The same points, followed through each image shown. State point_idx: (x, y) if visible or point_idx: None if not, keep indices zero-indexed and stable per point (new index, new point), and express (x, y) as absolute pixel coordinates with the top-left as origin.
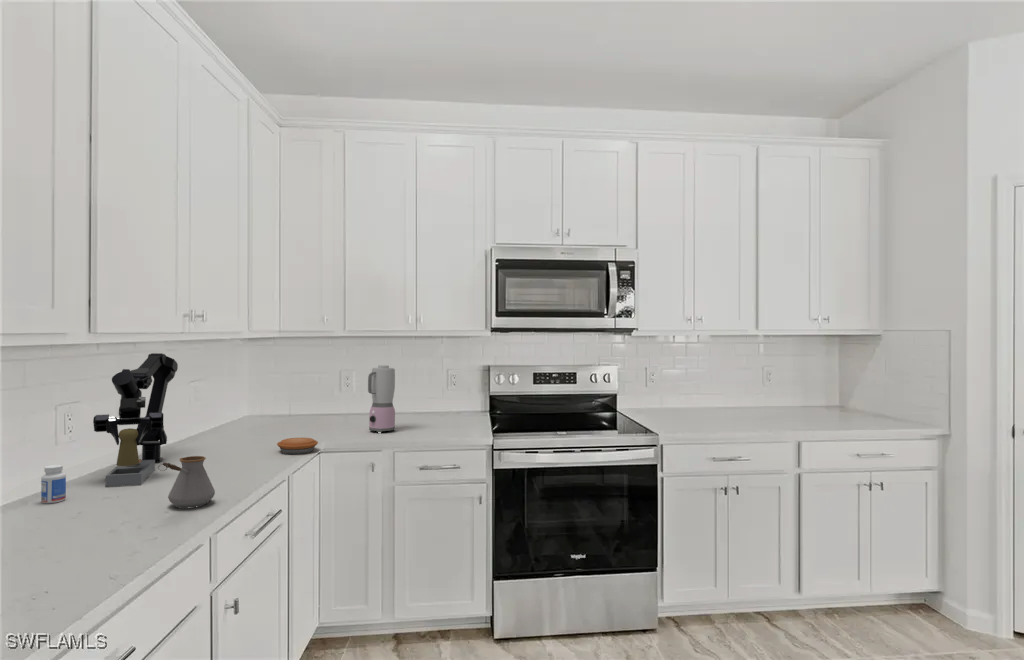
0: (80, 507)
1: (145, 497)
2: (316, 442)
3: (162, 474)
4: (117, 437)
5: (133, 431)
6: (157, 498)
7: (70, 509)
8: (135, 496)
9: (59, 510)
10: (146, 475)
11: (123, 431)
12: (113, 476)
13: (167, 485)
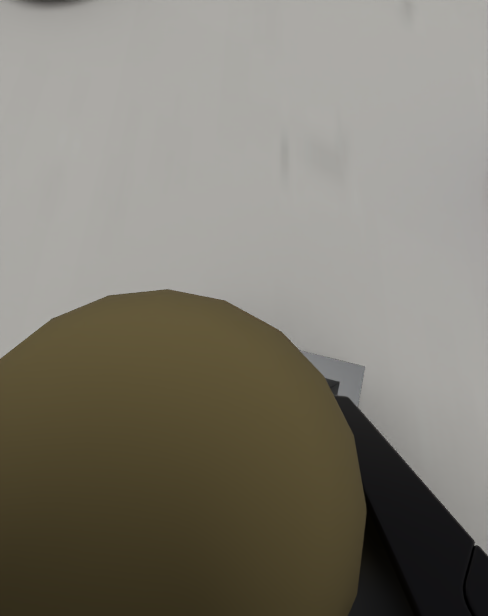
0: (415, 67)
1: (185, 98)
2: None
3: None
4: (367, 461)
5: (47, 327)
6: (147, 66)
7: (447, 57)
8: (219, 129)
9: (484, 60)
10: None
11: (267, 345)
12: (316, 356)
13: (63, 256)
